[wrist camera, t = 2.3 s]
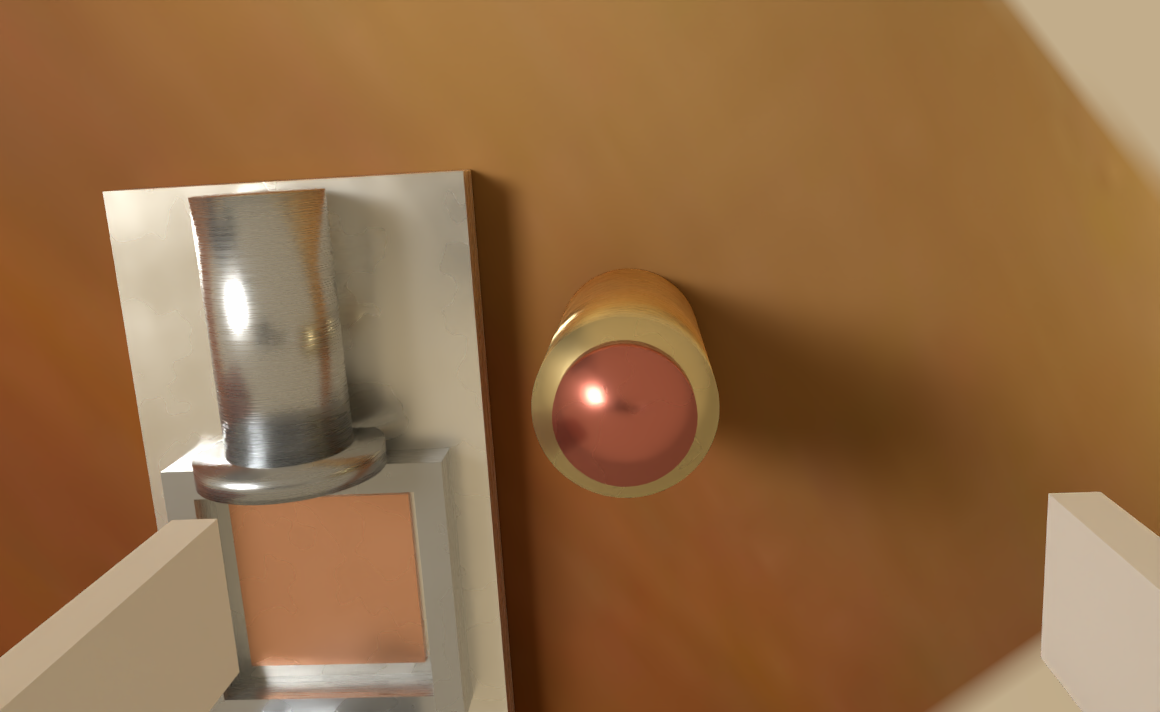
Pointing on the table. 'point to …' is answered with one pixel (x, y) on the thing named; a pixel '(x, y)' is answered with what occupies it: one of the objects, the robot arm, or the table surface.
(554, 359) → the brass cylinder
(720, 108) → the table surface
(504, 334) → the table surface
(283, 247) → the pipeline
